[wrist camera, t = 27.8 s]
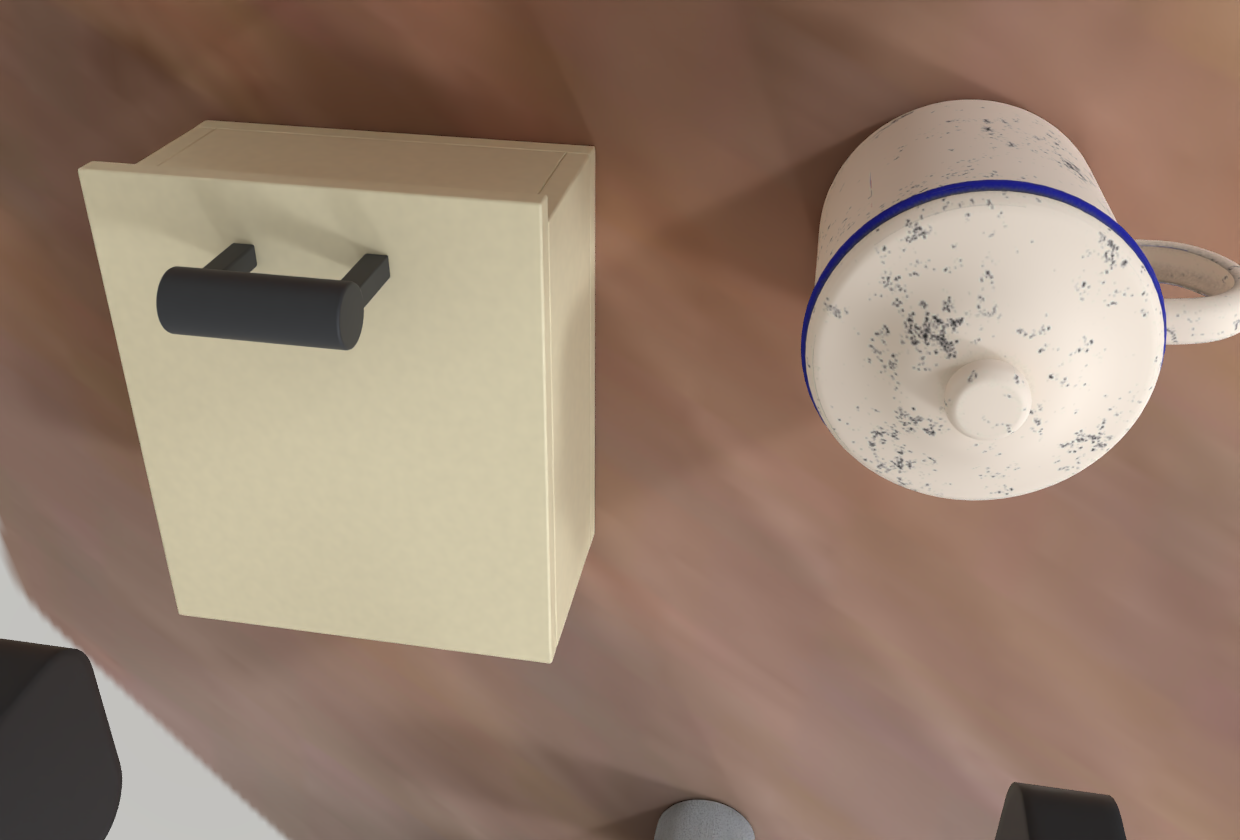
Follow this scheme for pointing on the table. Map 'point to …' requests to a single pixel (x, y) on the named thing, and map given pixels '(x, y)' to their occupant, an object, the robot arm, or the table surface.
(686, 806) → the planter
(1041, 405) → the teacup with lid
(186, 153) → the cream hinged box
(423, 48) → the table surface
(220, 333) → the lid
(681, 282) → the table surface
